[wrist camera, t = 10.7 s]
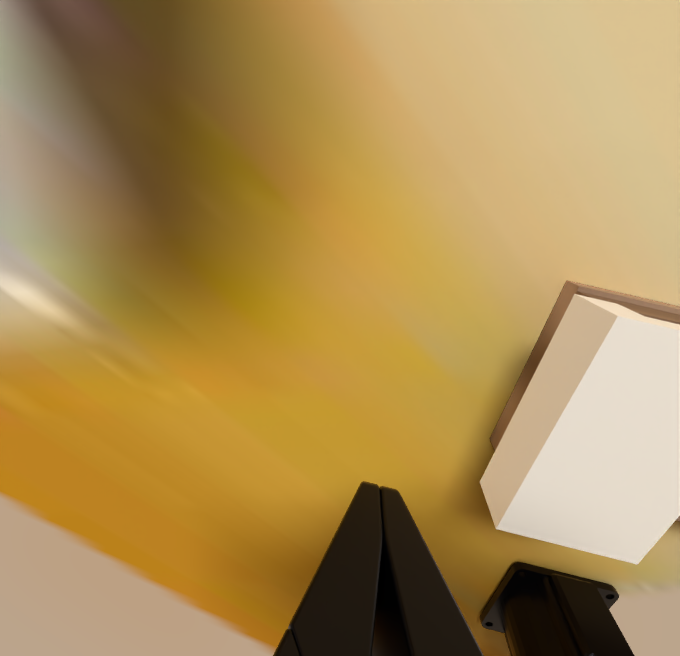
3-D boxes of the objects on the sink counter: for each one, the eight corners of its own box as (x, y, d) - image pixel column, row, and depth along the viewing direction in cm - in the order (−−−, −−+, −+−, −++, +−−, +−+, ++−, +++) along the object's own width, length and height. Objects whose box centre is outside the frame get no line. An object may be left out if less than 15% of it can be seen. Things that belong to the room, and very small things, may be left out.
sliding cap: (575, 475, 17) (637, 564, 13) (468, 449, 17) (495, 528, 13) (682, 311, 13) (813, 361, 9) (546, 279, 14) (618, 315, 10)
